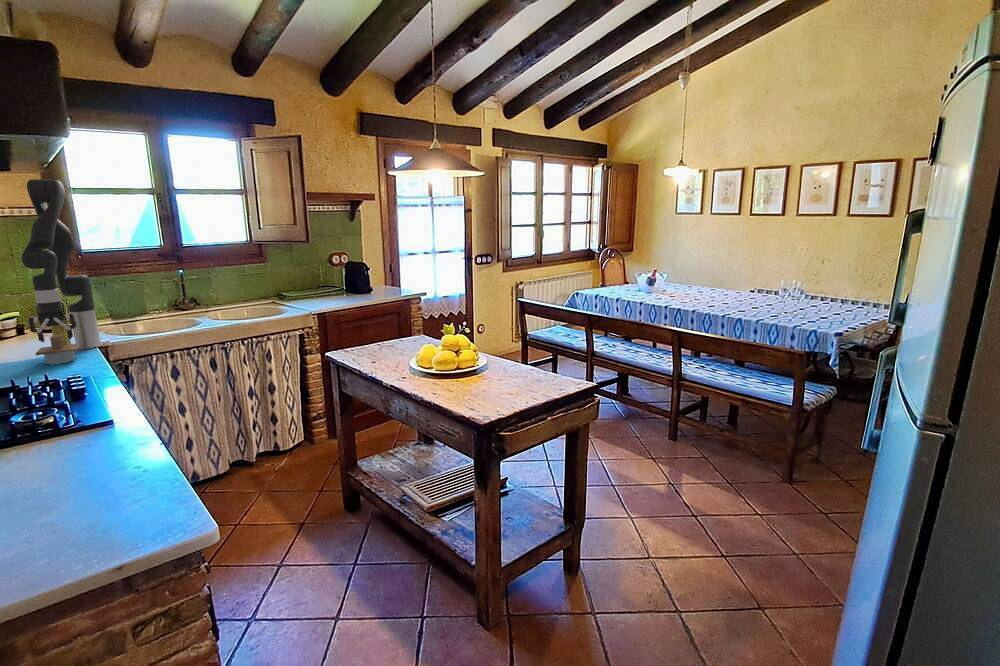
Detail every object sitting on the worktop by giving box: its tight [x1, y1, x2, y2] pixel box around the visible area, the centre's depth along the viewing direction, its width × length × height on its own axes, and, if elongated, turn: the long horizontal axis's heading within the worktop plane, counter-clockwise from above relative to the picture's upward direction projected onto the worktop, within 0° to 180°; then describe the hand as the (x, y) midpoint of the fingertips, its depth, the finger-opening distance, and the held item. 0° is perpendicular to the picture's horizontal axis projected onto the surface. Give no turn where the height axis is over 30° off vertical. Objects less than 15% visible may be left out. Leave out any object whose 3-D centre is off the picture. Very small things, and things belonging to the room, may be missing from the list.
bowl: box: [43, 351, 76, 365], centre depth 213 cm, size 9×9×5 cm
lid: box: [35, 334, 80, 356], centre depth 212 cm, size 12×12×6 cm
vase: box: [50, 325, 72, 345], centre depth 222 cm, size 6×6×14 cm
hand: (56, 340), depth 212 cm, fingers open, 8 cm apart
